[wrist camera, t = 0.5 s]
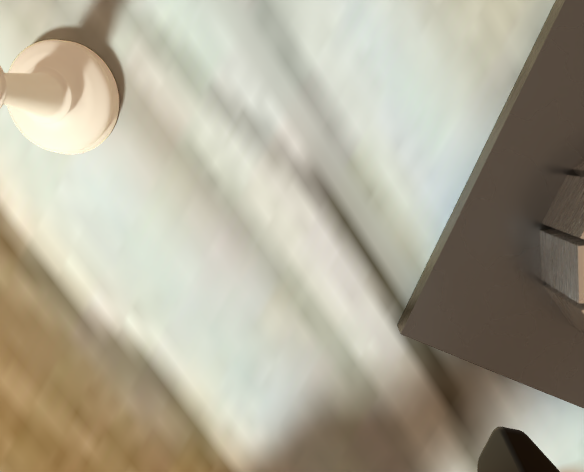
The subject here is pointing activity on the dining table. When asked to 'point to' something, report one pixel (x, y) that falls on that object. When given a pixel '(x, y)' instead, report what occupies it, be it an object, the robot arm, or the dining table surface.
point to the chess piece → (61, 96)
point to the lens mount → (519, 232)
